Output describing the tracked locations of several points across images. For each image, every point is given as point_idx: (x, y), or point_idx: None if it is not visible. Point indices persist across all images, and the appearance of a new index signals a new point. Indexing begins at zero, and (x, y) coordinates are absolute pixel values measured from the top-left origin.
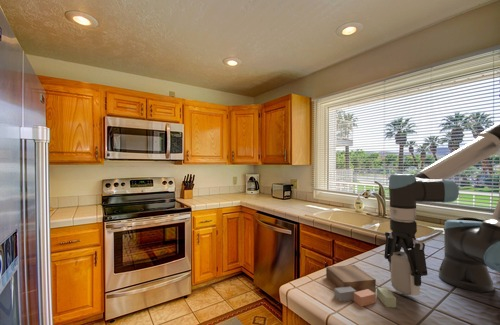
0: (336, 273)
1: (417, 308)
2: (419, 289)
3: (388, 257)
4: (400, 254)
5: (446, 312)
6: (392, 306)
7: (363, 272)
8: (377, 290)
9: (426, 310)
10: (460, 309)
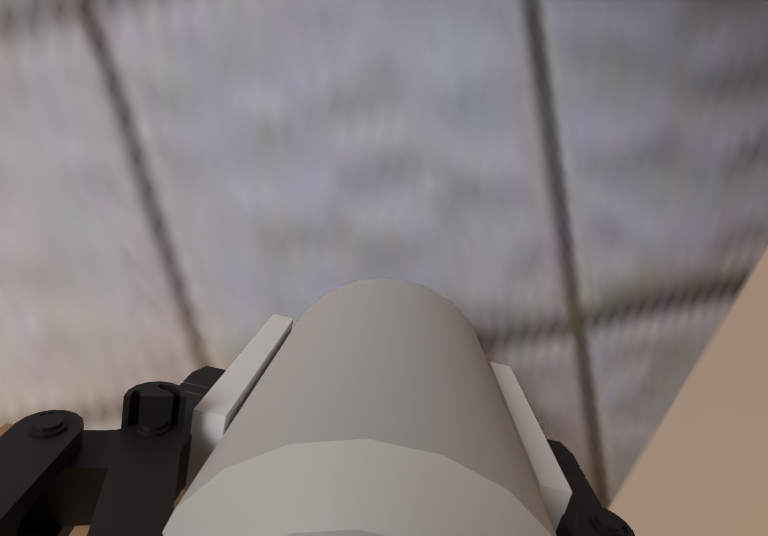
0: None
1: None
2: (520, 392)
3: (77, 516)
4: (181, 530)
5: (646, 286)
6: None
7: (87, 533)
8: None
9: (566, 387)
10: (685, 141)
